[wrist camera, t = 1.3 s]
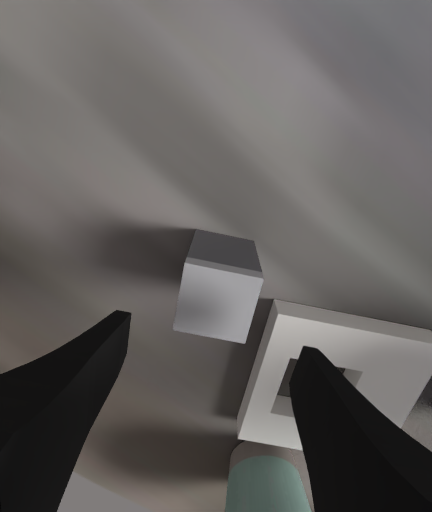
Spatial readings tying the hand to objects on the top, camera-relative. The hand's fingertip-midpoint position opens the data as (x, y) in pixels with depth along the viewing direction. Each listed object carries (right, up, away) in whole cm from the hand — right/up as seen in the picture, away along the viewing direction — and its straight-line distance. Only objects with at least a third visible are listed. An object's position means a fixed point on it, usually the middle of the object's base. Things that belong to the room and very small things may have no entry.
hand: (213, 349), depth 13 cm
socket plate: (+9, -6, +12) cm, 16 cm away
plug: (0, +3, +9) cm, 10 cm away
